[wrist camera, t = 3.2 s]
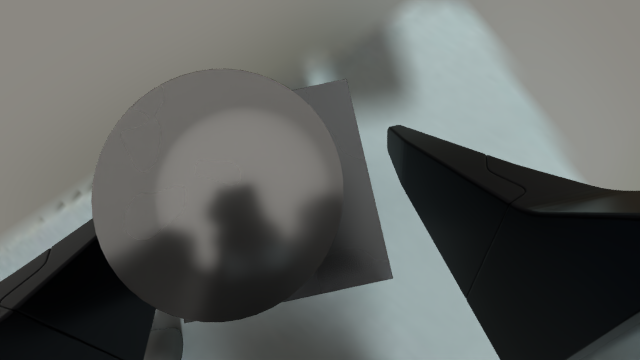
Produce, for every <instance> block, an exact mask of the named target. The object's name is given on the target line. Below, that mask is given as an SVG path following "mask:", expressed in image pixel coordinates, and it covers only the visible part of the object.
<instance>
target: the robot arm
mask: <svg viewBox="0 0 640 360" xmlns="http://www.w3.org/2000/svg"><path fill="white" fill-rule="evenodd" d="M387 149H388V153H389V156H390V158H391V160H392V163H393V165H394V168H395V170H396V173H397V175H398V178H399V180H400V183H401V185H402V187H403V189H404V190H405V192H406V194H407V196H408V197H409V199H410V201H411V203H412V205H413V206H414V208H415V210H416V212H417V213H418V215H419V217H420V219H421V220H422V222H423V224H424V226H425V227H426V229H427V231H428V233H429V234H430V236H431V238H432V240H433V242H434V243H435V245H436V247H437V249H438V250H439V252H440V254H441V256H442V257H443V259H444V261H445V263H446V264H447V266H448V268H449V270H450V271H451V273H452V275H453V277H454V279H455V280H456V282H457V284H458V286H459V287H460V289H461V291H462V293H463V294H464V296H465V298H467V299H466V300H467V302H468V304H469V305H470V307H471V309H472V311H473V312H474V314H475V316H476V318H477V319H478V321H479V323H480V325H481V326H482V328H483V330H484V332H485V333H486V335H487V337H488V339H489V341H490V342H491V344H492V346H493V348H494V349H495V351H496V353H497V355H498V356H499V358H500V360H640V191H621V190H611V189H604V188H599V187H595V186H591V185H587V184H584V183H580V182H577V181H573V180H569V179H566V178H562V177H558V176H555V175H551V174H548V173H544V172H540V171H537V170H533V169H530V168H527V167H523V166H520V165H516V164H513V163H510V162H507V161H504V160H501V159H498V158H495V157H492V156H489V155H487V156H486V155H485V154H483V153H480V152H477V151H474V150H472V149H469V148H466V147H463V146H460V145H457V144H454V143H451V142H448V141H445V140H442V139H439V138H437V137H434V136H431V135H428V134H425V133H422V132H419V131H416V130H413V129H410V128H407V127H404V126H402V125H396V126H391V127H389V128H388V131H387ZM155 310H156V308H155V307H153V306H151V305H150V304H148V303H146V302H145V301H143V300H142V299H140V298H139V297H138V296H137V295H136V294H134V293H133V292H132V291H131V290H130V289H129V288H128V287H127V286H126V285H125V284H124V283H123V282H122V281H121V280H120V279H119V277H118V276H117V275H116V273H115V272H114V270H113V269H112V267H111V266H110V265H109V263H108V261H107V259H106V257H105V255H104V253H103V251H102V249H101V247H100V244H99V241H98V238H97V235H96V231H95V226H94V221H93V218H92V219H91V220H90V221H88V222H87V223H85V224H84V225H82V226H81V227H80V228H78V229H77V230H75V231H74V232H72V233H71V234H70V235H68V236H67V237H65V238H64V239H62V240H61V241H59V242H58V243H57V244H55V245H54V246H52V248H51V249H48V250H46V251H45V252H44V253H42V254H41V255H39V256H38V257H36V258H35V259H34V260H32V261H31V262H29V263H28V264H26V265H25V266H23V267H22V268H20V269H19V270H17V271H16V272H14V273H13V274H11V275H10V276H8V277H7V278H5V279H4V280H2V281H1V282H0V360H144V356H145V352H146V348H147V344H148V340H149V335H150V331H151V327H152V323H153V319H154V315H155Z"/></svg>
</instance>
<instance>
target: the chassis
mask: <svg viewBox="0 0 640 360" xmlns="http://www.w3.org/2000/svg"><path fill="white" fill-rule="evenodd" d="M182 351H183V341H182V336H181V333H180V331H179V330H178V329H176V328H168V329H159V330H153V331H151V332H150V335H149V340H148V344H147V348H146V352H145V356H144V360H181V358H182Z"/></svg>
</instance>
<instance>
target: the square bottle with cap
mask: <svg viewBox="0 0 640 360" xmlns="http://www.w3.org/2000/svg"><path fill="white" fill-rule="evenodd" d="M92 215H93V221H94V226H95V231H96V235H97V238H98V241H99V244H100V247H101V249H102V251H103V253H104V255H105V257H106V259H107V261H108V263H109V265H110V266H111V267H112V269H113V270H114V272H115V273H116V275H117V276H118V277H119V279H120V280H121V281H122V282H123V283H124V284H125V285H126V286H127V287H128V288H129V289H130V290H131V291H132V292H133V293H134V294H136V295H137V296H138V297H139V298H140V299H142V300H143V301H145V302H146V303H148V304H150V305H151V306H153V307H155V308H156V309H158V310H161V311H163V312H165V313H168V314H170V315H172V316H176V317H180V318H183V319H184V323H188V322H193V321H200V322H226V321H233V320H239V319H243V318H246V317H250V316H253V315H257V314H259V313H261V312H263V311H266V310H268V309H270V308H272V307H274V306H276V305H277V304H279V303H281V302H286V301H290V300H295V299H299V298H304V297H309V296H313V295H318V294H323V293H327V292H332V291H337V290H341V289H346V288H350V287H355V286H360V285H364V284H369V283H374V282H378V281H383V280H387V279H392V278H393V276H392V272H391V268H390V263H389V259H388V255H387V251H386V246H385V242H384V238H383V233H382V229H381V225H380V221H379V216H378V212H377V208H376V203H375V199H374V195H373V191H372V186H371V182H370V178H369V173H368V169H367V165H366V161H365V156H364V152H363V148H362V143H361V139H360V135H359V131H358V126H357V122H356V118H355V114H354V109H353V105H352V101H351V96H350V92H349V88H348V84H347V79H343V80H338V81H334V82H329V83H324V84H320V85H315V86H310V87H305V88H301V89H296V90H290V89H289V88H288V87H286V86H284V85H282V84H280V83H278V82H277V81H275V80H273V79H270V78H268V77H265V76H262V75H259V74H256V73H252V72H248V71H243V70H233V69H209V70H203V71H196V72H193V73H189V74H185V75H182V76H179V77H176V78H174V79H172V80H170V81H167V82H165V83H163V84H161V85H160V86H158V87H156V88H154V89H153V90H151V91H150V92H148V93H147V94H146V95H144V96H143V97H142V98H140V99H139V100H138V101H137V102H136V103H135V104H134V105H133V106H132V107H131V108H129V110H127V112H126V113H125V114H124V115H123V116H122V118H121V119H120V120H119V121H118V123H117V124H116V125H115V127H114V129H113V130H112V132H111V133H110V135H109V136H108V138H107V140H106V143H105V145H104V147H103V149H102V151H101V154H100V156H99V159H98V162H97V165H96V169H95V174H94V179H93V186H92Z"/></svg>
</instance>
